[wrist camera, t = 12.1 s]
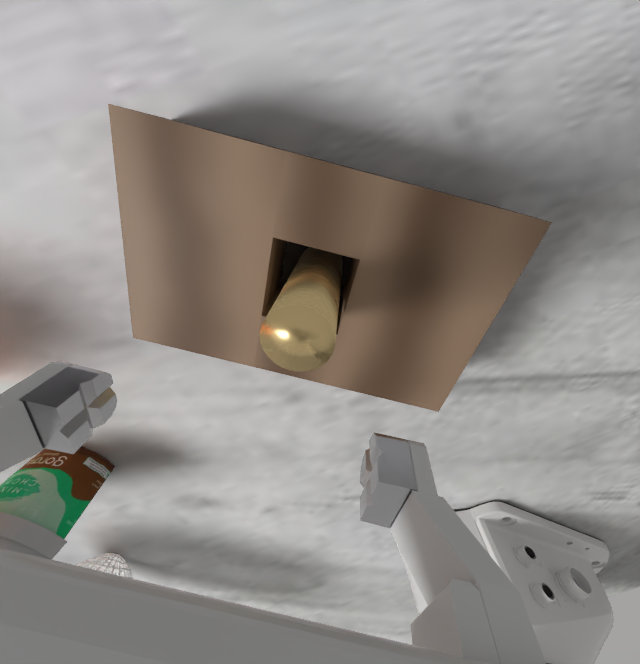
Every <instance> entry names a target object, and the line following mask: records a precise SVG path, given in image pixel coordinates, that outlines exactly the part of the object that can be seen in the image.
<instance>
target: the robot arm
mask: <svg viewBox="0 0 640 664" xmlns="http://www.w3.org/2000/svg"><path fill="white" fill-rule="evenodd" d="M112 384H113V380H112V376H111V374H109V373H106V372H102V371H99V370H95V369H91V368H87V367H83V366H79V365H74V364H70V363H66V362H62V361H56V362H52V363H50V364H48V365H47V366H45V367H43V368H42V369H40V370H39V371H37V372H35V373H34V374H32V375H31V376H29V377H27V378H26V379H24V380H23V381H21V382H19V383H18V384H16V385H15V386H13V387H11V388H10V389H8V390H7V391H5V392H3V393H2V394H0V472H1V471H3V470H5V469H7V468H9V467H11V466H13V465H15V464H17V463H19V462H21V461H23V460H25V459H27V458H29V457H31V456H33V455H35V454H37V453H39V452H41V451H42V450H44V449H43V448H45V449H50V450H55V451H60V452H65V453H70V454H74V453H75V452H76V451H77V450H78V449H79V448H80V447H81V446H82V445H83V444H84V443H85V442H86V441H87V440H88V439H89V438H90V437H91V436H92V433H93V428H96V427H98V426H100V425H103V424H104V423H105V422H106V421H107V420H108V419H109V418H110V417H111V416H112V414H113V412H114V410H115V408H116V403H117V398H116V394H115V393H114V391H113V390H112V389H111V388H110V386H111V385H112ZM369 444H370V449H368V450H366V451H365V454H364V457H363V460H362V465H361V474H360V483H361V485H362V486H363V488H364V490H363V492H362V494H361V497H360V521H364V522H368V523H372V524H376V525H380V526H383V527H387V528H390V532H391V534H392V536H393V538H394V540H395V542H396V544H397V546H398V551H399V553H400V555H401V558H402V560H403V563H404V566H405V569H406V572H407V575H408V578H409V581H410V584H411V588H412V591H413V595H414V599H415V603H416V607H417V611H418V615H419V616H418V617H417V618H416V619H415V620H414V622H413V623H412V624H411V633H412V643H413V645H410V644H405V643H401V642H397V641H393V640H388V639H384V638H380V637H376V636H371V635H367V634H363V633H359V632H355V631H350V630H346V629H342V628H338V627H333V626H329V625H325V624H321V623H317V622H312V621H308V620H304V619H300V618H295V617H291V616H287V615H283V614H279V613H274V612H270V611H266V610H262V609H257V608H253V607H249V606H245V605H241V604H236V603H232V602H228V601H224V600H219V599H215V598H211V597H207V596H203V595H198V594H194V593H190V592H186V591H181V590H177V589H173V588H169V587H165V586H160V585H156V584H152V583H148V582H143V581H139V580H135V579H131V578H127V577H122V576H118V575H114V574H110V573H105V572H101V571H97V570H93V569H88V568H84V567H80V566H76V565H72V564H67V563H63V562H59V561H55V560H50V559H46V558H42V557H38V556H34V555H29V554H25V553H21V552H17V551H12V550H8V549H4V548H0V664H594V663H595V661H596V659H597V657H598V654H599V652H600V650H601V648H602V646H603V644H604V642H605V640H606V639H607V637H608V635H609V633H610V631H611V629H612V626H613V620H614V619H613V612H612V608H611V605H610V602H609V600H608V597H607V595H606V593H605V591H604V589H603V587H602V585H601V583H600V581H599V579H598V577H597V576H596V574H597V573H598V572H600V571H601V570H602V568H603V567H604V566H605V565H606V563H607V562H608V559H609V556H610V552H609V550H608V548H607V546H606V544H605V543H604V542H602V541H600V540H597V539H595V538H592V537H590V536H587V535H585V534H582V533H580V532H577V531H574V530H572V529H569V528H567V527H564V526H562V525H559V524H556V523H554V522H551V521H549V520H546V519H544V518H541V517H539V516H536V515H533V514H531V513H528V512H526V511H523V510H521V509H518V508H516V507H513V506H510V505H508V504H505V503H502V502H489V503H486V504H483V505H480V506H477V507H474V508H472V509H469V510H464V511H457V512H455V511H454V510H453V509H452V508H451V506H450V505H449V504H448V503H447V502H446V500H445V499H444V498H443V497H440V496H438V494H437V490H436V486H435V482H434V478H433V474H432V470H431V465H430V461H429V457H428V453H427V449H426V446H425V445H424V443H419V442H415V441H410V440H405V439H401V438H396V437H392V436H387V435H383V434H378V433H373V434H372V436H371V438H370V441H369Z"/></svg>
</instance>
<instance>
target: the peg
mask: <svg viewBox="0 0 640 664" xmlns="http://www.w3.org/2000/svg"><path fill="white" fill-rule="evenodd" d="M342 271H343V262H342V258H341V256H340V254H336V253H332V252H328V251H324V250H320V249H316V248H312V247H309V248H307V249H306V250H305V251H304V252H303V254H302V256H301V257H300V259H299V261H298V263H297V264H296V266H295V268H294V270H293V271H292V273H291V275H290V276H289V278H288V280H287V282H286V283H285V285H284V287H283V289H282V290H281V292H280V294H279V296H278V297H277V299H276V301H275V303H274V304H273V306H272V308H271V310H270V311H269V313H268V315H267V317H266V318H265V320H264V322H263V324H262V326H261V329H260V342H261V346H262V348H263V350H264V352H265V354H266V355H267V356H268V357H269V358H270V359H271V360H272V361H273V362H274V363H275V364H277V365H279V366H280V367H282V368H285V369H288V370H291V371H298V372H305V371H311V370H314V369H317V368H319V367H321V366H322V365H324V364H325V363H326V362H327V361H328V360H329V359H330V357H331V356H332V354H333V351H334V348H335V340H336V330H337V320H338V310H339V300H340V290H341V281H342Z"/></svg>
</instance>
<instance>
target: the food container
mask: <svg viewBox="0 0 640 664" xmlns="http://www.w3.org/2000/svg"><path fill="white" fill-rule="evenodd" d="M114 467H115V466H114V465H113V464H112V463H111V462H110V461H108V460H107V459H106V458H104V457H102V456H101V455H99V454H98V453H96V452H94V451H92V450H89V449H87V448H85V447H82V446H81V447H80V448H79V449H78V450H77V451H76V452H75V453H74V454H70V453H65V452H60V451H55V450H50V449H44V450H42V451H41V452H40V453H39V454H38V455H36V456H35V457H34V458H33V459H31V460H30V461H29V462H28V463H27V464H25V465H24V466H23V467H22V468H20V469H19V470H18V471H17V472H16V473H14V474H13V475H12V476H11V477H9V478H8V479H7V480H6V481H5V482H3V483H2V484H1V485H0V548H4V549H8V550H12V551H17V552H21V553H25V554H29V555H34V556H38V557H42V558H46V559H50V560H51V559H52V558H53V557H54V556H55V555H56V554H57V553H58V552H59V550H60V549H61V548H62V547H63V546H64V545H65V544H66V543H67V541H65V540H64V538H65V537H66V536H67V534H68V533H69V531H70V530H71V528H72V527H73V526H74V524H75V523H76V521H77V520H78V518H79V517H80V516H81V514H82V513H83V511H84V510H85V509H86V507H87V506H88V504H89V503H90V501H91V500H92V499H93V497H94V496H95V494H96V493H97V491H98V490H99V489H100V487H101V486H102V484H103V483H104V482H105V480H106V479H107V477H108V476H109V474H110V473H111V472H112V470H113V469H114Z"/></svg>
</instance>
